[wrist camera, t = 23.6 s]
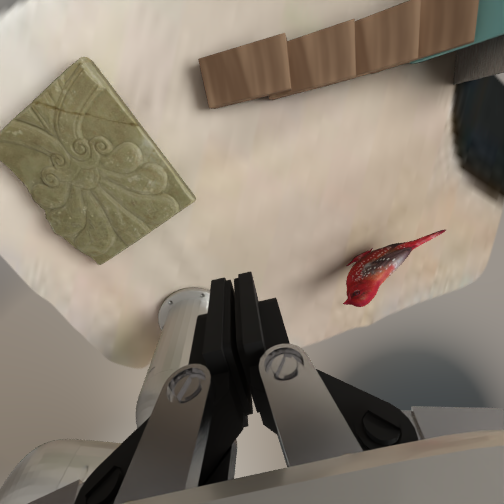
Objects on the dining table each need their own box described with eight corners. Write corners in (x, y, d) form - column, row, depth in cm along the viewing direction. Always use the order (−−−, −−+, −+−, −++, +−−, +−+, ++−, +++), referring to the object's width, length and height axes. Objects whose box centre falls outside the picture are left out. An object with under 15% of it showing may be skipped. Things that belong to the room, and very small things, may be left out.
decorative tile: (94, 58, 30) (78, 49, 27) (198, 197, 38) (196, 203, 35) (-11, 151, 33) (-37, 152, 30) (106, 262, 41) (95, 273, 38)
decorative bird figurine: (321, 272, 44) (344, 306, 35) (413, 210, 41) (466, 230, 32) (329, 283, 45) (354, 319, 36) (420, 224, 42) (472, 247, 33)
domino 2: (269, 99, 31) (355, 75, 28) (261, 50, 29) (354, 18, 26) (272, 100, 33) (354, 78, 30) (265, 53, 31) (353, 24, 28)
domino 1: (209, 107, 31) (290, 88, 29) (198, 59, 29) (284, 32, 27) (214, 108, 33) (291, 90, 30) (204, 62, 31) (286, 38, 28)
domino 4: (367, 73, 32) (474, 39, 25) (366, 22, 29) (482, -27, 23) (372, 73, 33) (473, 42, 27) (371, 25, 31) (481, -21, 25)
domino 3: (322, 85, 31) (418, 57, 27) (318, 35, 29) (421, -4, 25) (324, 86, 33) (415, 60, 29) (321, 39, 31) (418, 2, 26)
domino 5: (410, 63, 32) (521, 26, 24) (412, 13, 30) (534, -47, 22) (418, 62, 33) (528, 26, 25) (420, 13, 31) (541, -44, 23)
